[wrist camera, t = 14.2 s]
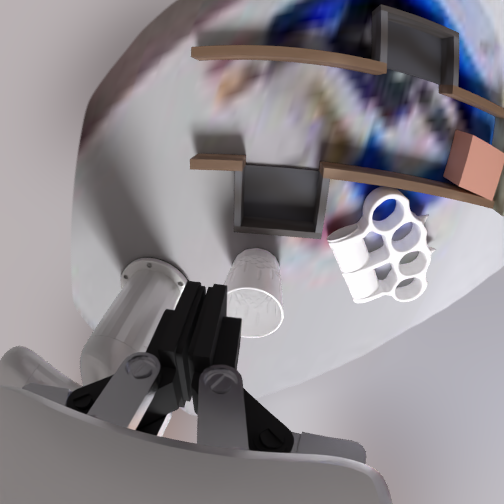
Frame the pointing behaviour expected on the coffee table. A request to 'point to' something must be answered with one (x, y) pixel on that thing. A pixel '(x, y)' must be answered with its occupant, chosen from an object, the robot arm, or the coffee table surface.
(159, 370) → the robot arm
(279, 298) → the white cup
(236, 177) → the channel
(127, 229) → the coffee table surface
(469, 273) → the coffee table surface
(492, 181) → the salmon pink square block
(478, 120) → the coffee table surface
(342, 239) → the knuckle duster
